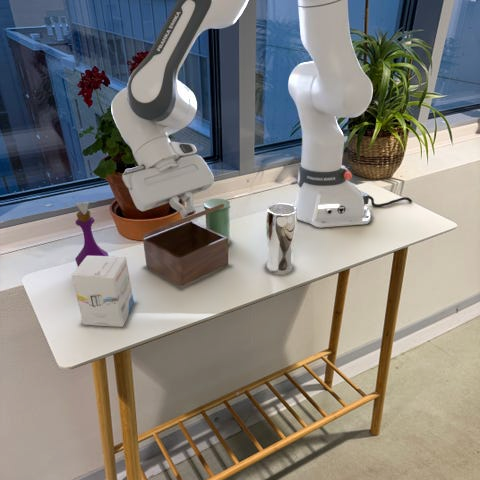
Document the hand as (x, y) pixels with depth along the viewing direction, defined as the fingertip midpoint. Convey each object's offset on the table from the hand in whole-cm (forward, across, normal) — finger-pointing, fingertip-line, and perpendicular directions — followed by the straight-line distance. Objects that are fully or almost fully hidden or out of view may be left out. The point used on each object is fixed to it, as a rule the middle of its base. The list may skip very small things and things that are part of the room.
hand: (189, 215), depth 107 cm
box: (+8, 0, +12) cm, 14 cm away
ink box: (+11, -24, +9) cm, 28 cm away
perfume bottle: (0, -18, +20) cm, 27 cm away
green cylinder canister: (+6, +14, +14) cm, 20 cm away
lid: (0, 0, +4) cm, 4 cm away
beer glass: (+20, +15, 0) cm, 25 cm away
